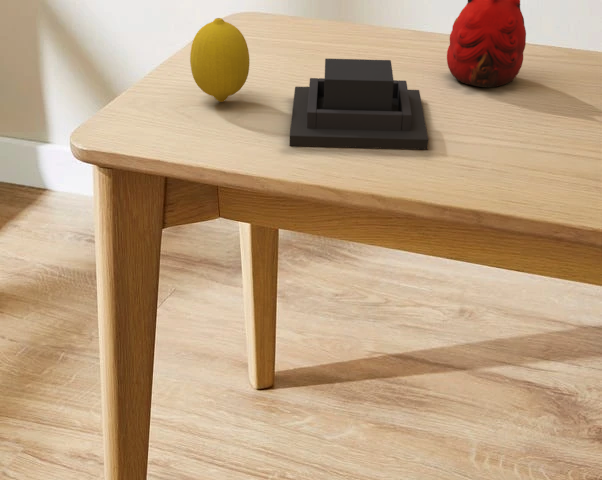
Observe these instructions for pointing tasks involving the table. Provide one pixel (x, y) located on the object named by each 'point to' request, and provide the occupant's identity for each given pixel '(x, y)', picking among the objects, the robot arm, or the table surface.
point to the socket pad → (358, 121)
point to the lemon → (219, 59)
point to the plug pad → (358, 85)
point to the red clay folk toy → (487, 43)
